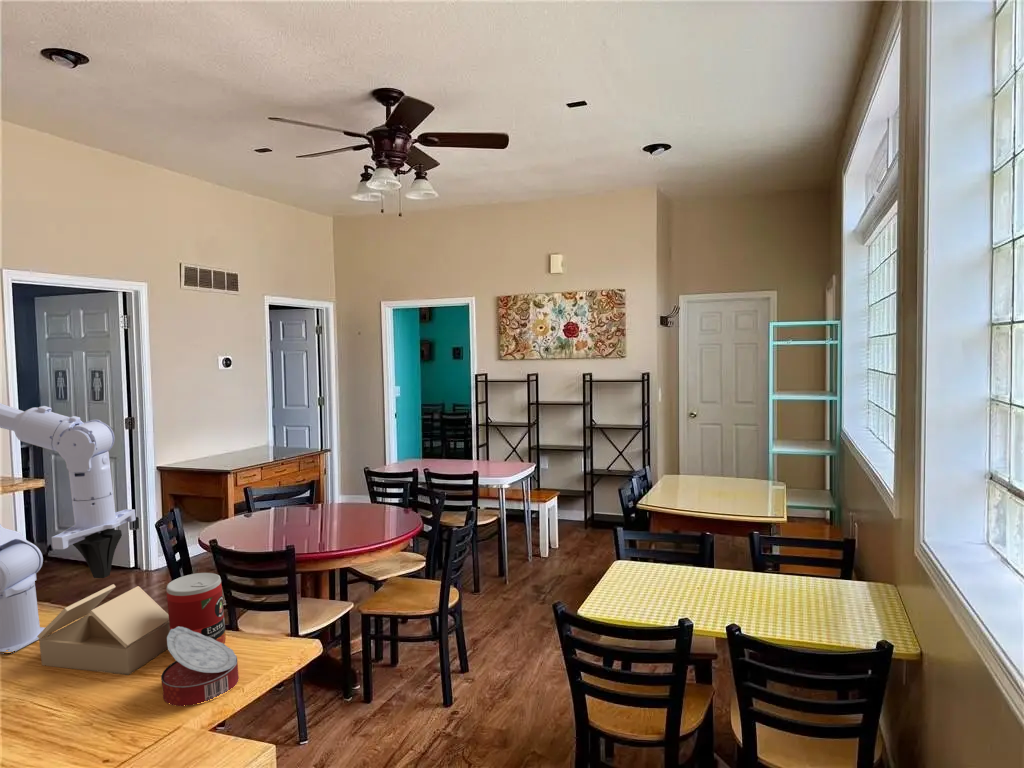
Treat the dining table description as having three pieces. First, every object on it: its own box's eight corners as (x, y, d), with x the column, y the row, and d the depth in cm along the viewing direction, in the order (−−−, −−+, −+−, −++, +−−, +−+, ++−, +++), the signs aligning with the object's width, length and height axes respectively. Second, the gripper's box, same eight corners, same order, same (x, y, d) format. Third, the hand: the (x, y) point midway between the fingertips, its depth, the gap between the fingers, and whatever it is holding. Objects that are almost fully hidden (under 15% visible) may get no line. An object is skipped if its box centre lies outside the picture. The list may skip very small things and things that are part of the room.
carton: (41, 665, 102) (39, 640, 102) (91, 637, 111) (89, 614, 110) (128, 675, 98) (126, 649, 98) (173, 645, 107) (170, 621, 107)
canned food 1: (213, 660, 102) (207, 591, 101) (161, 661, 102) (155, 592, 101) (235, 635, 110) (229, 571, 108) (187, 637, 110) (181, 572, 109)
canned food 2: (201, 699, 100) (218, 629, 103) (246, 709, 95) (263, 635, 98) (130, 701, 91) (152, 623, 94) (176, 712, 86) (197, 630, 89)
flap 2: (170, 620, 107) (172, 617, 106) (125, 648, 98) (127, 645, 98) (136, 588, 108) (138, 585, 107) (89, 613, 99) (91, 610, 99)
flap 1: (39, 639, 102) (37, 636, 102) (89, 613, 110) (87, 610, 110) (67, 611, 100) (64, 608, 100) (115, 586, 108) (113, 583, 108)
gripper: (74, 509, 100) (84, 596, 102) (147, 484, 114) (155, 561, 116) (36, 508, 102) (47, 593, 103) (112, 484, 116) (120, 559, 117)
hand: (101, 576), depth 110 cm, fingers closed
